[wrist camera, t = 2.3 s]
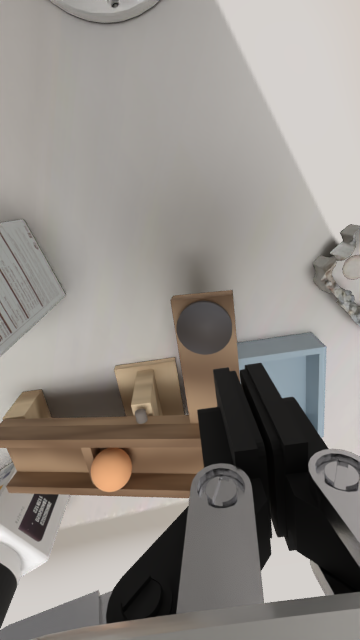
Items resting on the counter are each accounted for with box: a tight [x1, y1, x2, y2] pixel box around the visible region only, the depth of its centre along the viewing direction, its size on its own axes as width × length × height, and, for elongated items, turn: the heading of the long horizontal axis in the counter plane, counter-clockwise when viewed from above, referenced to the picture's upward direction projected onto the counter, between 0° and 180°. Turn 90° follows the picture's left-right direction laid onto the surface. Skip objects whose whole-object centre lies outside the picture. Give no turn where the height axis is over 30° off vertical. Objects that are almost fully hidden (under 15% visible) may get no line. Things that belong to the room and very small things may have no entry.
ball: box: [91, 448, 132, 492], centre depth 25 cm, size 3×3×3 cm
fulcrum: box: [114, 357, 184, 416], centre depth 30 cm, size 9×6×6 cm, turn 8°
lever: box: [0, 290, 240, 498], centre depth 24 cm, size 17×21×3 cm
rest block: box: [3, 389, 52, 420], centre depth 31 cm, size 6×2×4 cm, turn 8°
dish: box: [237, 332, 326, 437], centre depth 31 cm, size 10×10×4 cm
